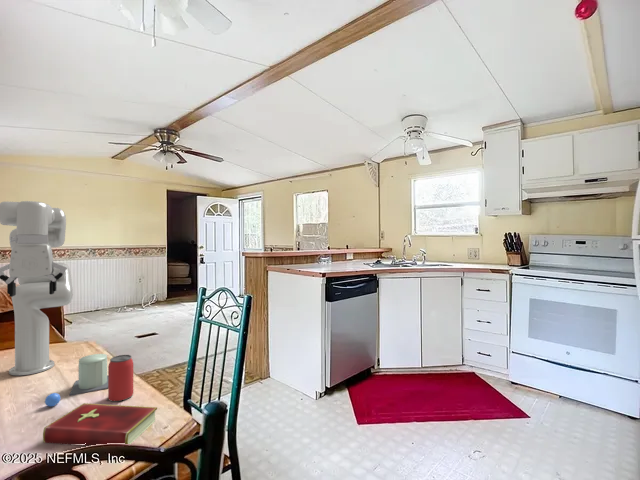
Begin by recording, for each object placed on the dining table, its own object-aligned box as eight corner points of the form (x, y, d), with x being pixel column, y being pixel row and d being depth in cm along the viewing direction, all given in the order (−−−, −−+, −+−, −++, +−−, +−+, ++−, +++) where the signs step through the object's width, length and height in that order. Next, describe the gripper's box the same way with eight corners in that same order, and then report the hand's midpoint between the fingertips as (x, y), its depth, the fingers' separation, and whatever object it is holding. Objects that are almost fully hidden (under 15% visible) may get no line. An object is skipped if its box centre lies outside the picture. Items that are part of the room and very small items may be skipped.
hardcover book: (126, 451, 76) (126, 432, 76) (42, 445, 78) (42, 427, 78) (157, 422, 88) (157, 406, 88) (83, 417, 90) (83, 402, 90)
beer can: (121, 403, 97) (121, 362, 97) (102, 401, 98) (102, 360, 98) (138, 393, 103) (138, 354, 103) (120, 391, 105) (120, 353, 105)
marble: (46, 404, 96) (46, 392, 96) (61, 401, 98) (61, 389, 98) (43, 410, 93) (43, 397, 93) (59, 407, 95) (59, 394, 95)
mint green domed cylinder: (80, 381, 111) (81, 356, 111) (107, 377, 114) (107, 352, 114) (77, 390, 104) (77, 363, 104) (105, 385, 108) (105, 359, 108)
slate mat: (75, 381, 112) (75, 380, 112) (114, 375, 117) (114, 374, 117) (69, 395, 102) (69, 394, 102) (111, 388, 107) (111, 386, 107)
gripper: (-10, 240, 97) (-9, 299, 98) (64, 240, 106) (64, 294, 106) (0, 240, 104) (0, 295, 104) (68, 240, 112) (68, 291, 112)
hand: (32, 294), depth 105 cm, fingers open, 9 cm apart
